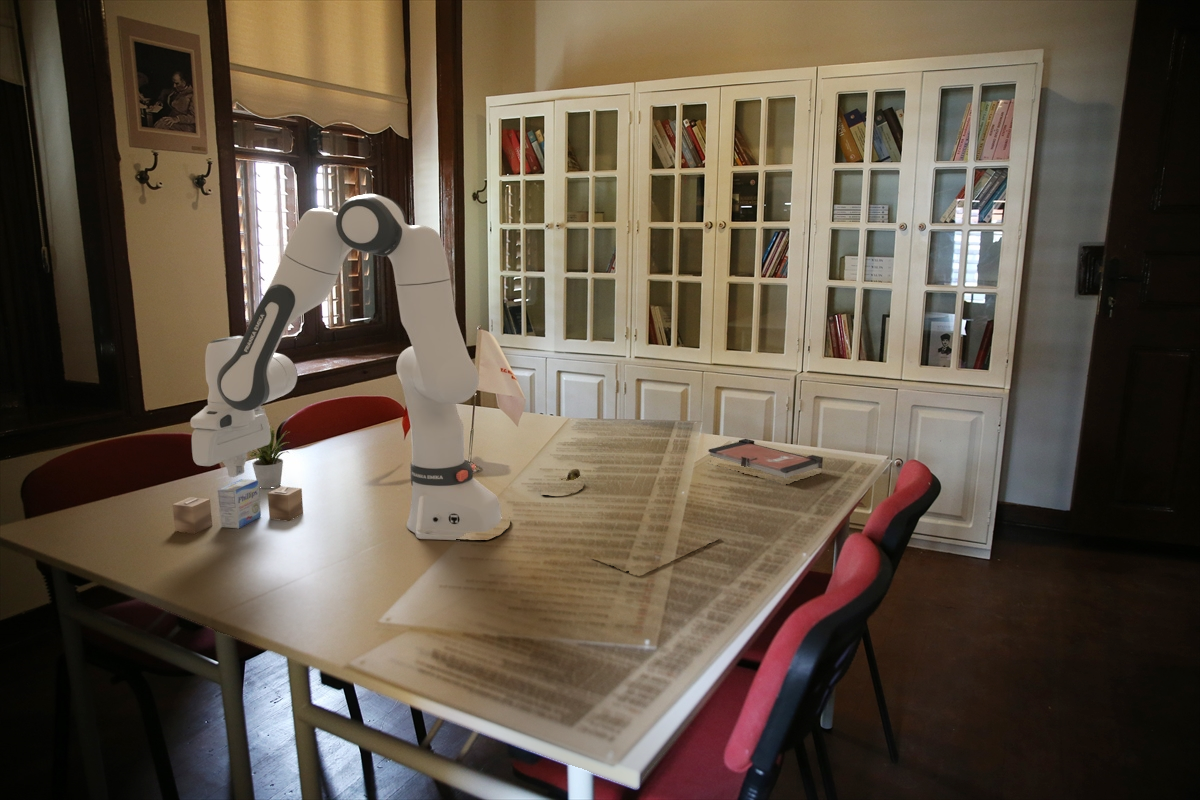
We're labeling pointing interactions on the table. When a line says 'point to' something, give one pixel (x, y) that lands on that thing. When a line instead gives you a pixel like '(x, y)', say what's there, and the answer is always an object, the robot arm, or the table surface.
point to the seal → (573, 474)
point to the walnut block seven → (285, 503)
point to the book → (766, 458)
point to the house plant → (268, 463)
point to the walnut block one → (192, 515)
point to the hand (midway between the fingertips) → (236, 475)
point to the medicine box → (239, 503)
